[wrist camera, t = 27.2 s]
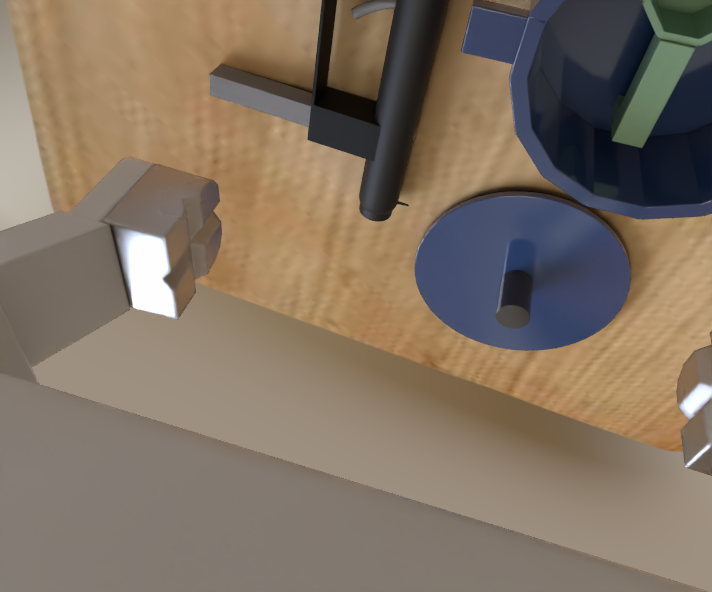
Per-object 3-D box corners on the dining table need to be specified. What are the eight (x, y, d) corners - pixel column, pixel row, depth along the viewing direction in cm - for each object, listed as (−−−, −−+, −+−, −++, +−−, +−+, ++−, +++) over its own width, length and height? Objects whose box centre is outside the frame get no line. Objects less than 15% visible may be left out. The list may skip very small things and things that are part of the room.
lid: (440, 161, 45) (427, 203, 41) (671, 220, 43) (679, 268, 40) (402, 311, 57) (389, 353, 53) (580, 360, 55) (580, 407, 52)
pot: (526, -193, 30) (512, -161, 24) (990, -104, 27) (1087, -48, 22) (452, 102, 41) (431, 167, 36) (774, 179, 39) (804, 261, 34)
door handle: (207, 167, 48) (402, 233, 46) (195, -135, 33) (480, -55, 31) (227, 146, 50) (413, 207, 48) (223, -146, 35) (491, -73, 33)
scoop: (670, -98, 30) (677, -76, 28) (773, -77, 30) (791, -53, 27) (584, 102, 38) (583, 134, 36) (664, 121, 38) (670, 155, 35)
